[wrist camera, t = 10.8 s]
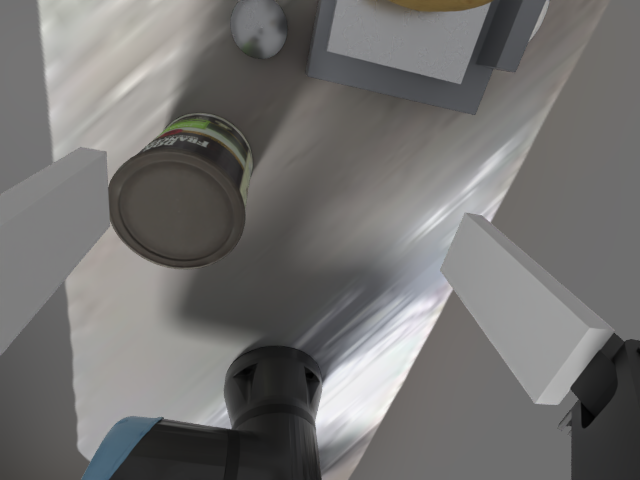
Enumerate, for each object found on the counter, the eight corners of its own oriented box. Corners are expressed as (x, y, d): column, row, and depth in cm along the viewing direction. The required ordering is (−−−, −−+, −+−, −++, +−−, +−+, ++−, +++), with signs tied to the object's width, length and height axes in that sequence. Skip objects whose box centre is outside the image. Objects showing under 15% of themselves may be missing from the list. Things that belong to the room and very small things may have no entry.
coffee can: (139, 125, 38) (77, 168, 26) (236, 102, 38) (219, 134, 26) (179, 212, 43) (142, 282, 31) (264, 192, 43) (261, 254, 31)
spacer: (281, 62, 37) (282, 64, 34) (230, 50, 36) (227, 51, 33) (290, 4, 35) (292, 2, 32) (236, -10, 34) (233, -14, 31)
